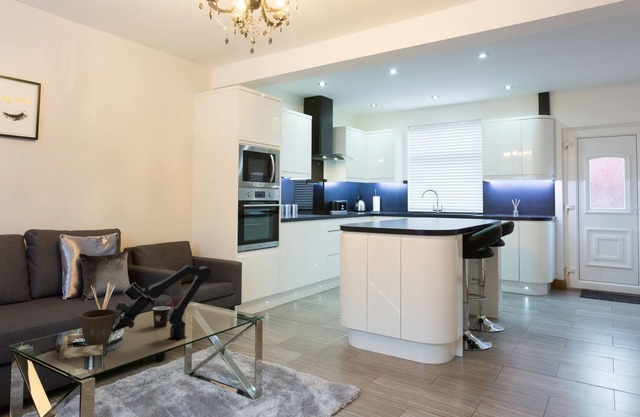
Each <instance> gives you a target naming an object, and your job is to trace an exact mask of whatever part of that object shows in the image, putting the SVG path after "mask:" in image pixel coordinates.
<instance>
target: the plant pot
mask: <svg viewBox="0 0 640 417" xmlns="http://www.w3.org/2000/svg"><path fill="white" fill-rule="evenodd" d="M116 316H117V310H116V309H110V308H107V309H106V308H104V309H92V310H87V311H84V312H81V313H79V323H80V328H81V332H82V334H83V336H84V339H85V344H86V346H92V345H102V344H103V349H105V348H106V347H107V346H108V343H109V341H110V339H111V337H112V336H111V335H112V333H113V332H112V330H113V328H114V326H115V323H116V322H115V321H116Z"/></svg>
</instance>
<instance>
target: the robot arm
mask: <svg viewBox="0 0 640 417" xmlns="http://www.w3.org/2000/svg"><path fill="white" fill-rule="evenodd" d="M188 275H192V276H194V279H193V281H192V283H191V284H190V286H189V287H188V289H187V290H186V292H185V293H184V294H183V295H184V296H183V298H182V299H181V301H180V302H179V304H178V305H177V306H176V307H173V306H172V307H170V308H169V312H168V316H167V318H168V320H169V321H168V323H169V324H170V329H169V330H170V331H169V332H170V333H169V337H167V338H168V339H167V340H173V341H177V342H179V341H182V340H184V339H186V338H187V335H185V334H186V332H185V331H186V323H185V321H184V319H183V316H184V314H185V310H186V309H187V307H188V306H189V304H190V303H191V301H192V300H193V298H194V296H195V295H196V293H198V291H199V289H200V287H201V286H203V284H204V283H206V282H207V281H208V280H209V278H210V277H211V275H212V272H211V269H210V268H208V267H206V266H200V267H199V266H194V265H193V266H192V265H188V264H187V265H184V266H183V267H182V268H181V269H180V270H178V271H176V272H175V273H173V274H171V275H170V276H168V277H167V278H165V279H164V280H161V281H158V282H155V283H154V284H151V285H150V286H149V287H140V286H139V285H138V284H137V283H136V281H134V282H133V283H131V284H129V285H128V286H127V287H126V288H125V289H124V290H123V294H124V295H125V296H127V297H128V298H129V299H130V300H131V301H133V300H135V301H133V302H131V303H130V304H128V303H126V302H123V301H120V300H117V302H116V303H115V305H114V310H115V311H119V313H121V314H119V315H118V320H117V321H116V322H115V324H114V326H113V330H112V333H115V332H117V331H120V330H123V329H125V328H129V329H132V328H133V327H134V326H135V320H136V318H137V317H138V316H140V315H142V314H143V311H144V310H145V309H146V308H147V307H149V306H150V305H152V306H155V305H156V304H155V301H156V299H159V297H160V296H162V295H163V294H164V293H165V292H166V290H167V289H168V288H170V287H171V286H173V285H174V284H176V283H177V282H179V281H181V280H182V279H184V278H185V277H187V276H188Z"/></svg>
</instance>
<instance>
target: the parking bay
mask: <svg viewBox="0 0 640 417" xmlns="http://www.w3.org/2000/svg"><path fill="white" fill-rule="evenodd" d="M79 338H84V336H83V333H75V334H72V333H71V334H64V336H63V339H62V342H61V346H60V349H59V360H65V359H64V358H68V359H71V358H70V357H77V356H85V357H91V356H90V355H94V356H101V355H103V354H104V352H103V350H104V348H103V344H102V345H92V346H87V345H86V346H76V347H68V345H70V344H69V343H72V342H73V341H74V340H75V339H79ZM67 344H68V345H67ZM77 358H78V357H77Z"/></svg>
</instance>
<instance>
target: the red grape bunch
mask: <svg viewBox="0 0 640 417" xmlns="http://www.w3.org/2000/svg"><path fill="white" fill-rule="evenodd" d="M184 295H185V294H178V295H175V296H173V298H172V299H169V302H168V301H167V302H166V305H167V307H169V308H171V307H172V306H173V307H176V306H177V305H178V304H179V302H180V301H181V299H182V298H183V296H184Z"/></svg>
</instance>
